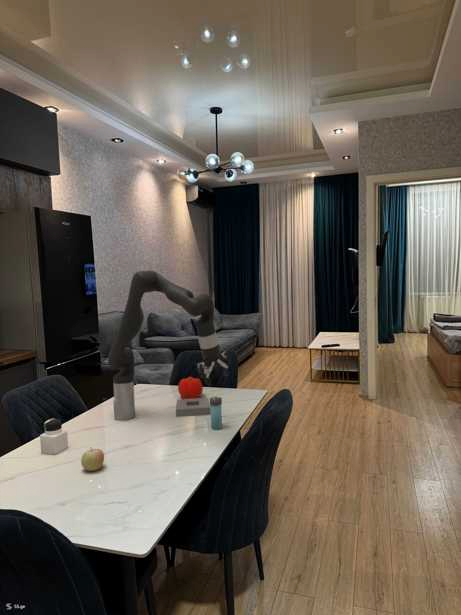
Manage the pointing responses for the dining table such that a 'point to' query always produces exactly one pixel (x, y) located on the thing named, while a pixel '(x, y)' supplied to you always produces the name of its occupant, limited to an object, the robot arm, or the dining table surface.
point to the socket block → (192, 407)
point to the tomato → (190, 388)
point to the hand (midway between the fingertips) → (217, 380)
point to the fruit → (92, 459)
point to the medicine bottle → (53, 437)
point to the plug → (216, 413)
